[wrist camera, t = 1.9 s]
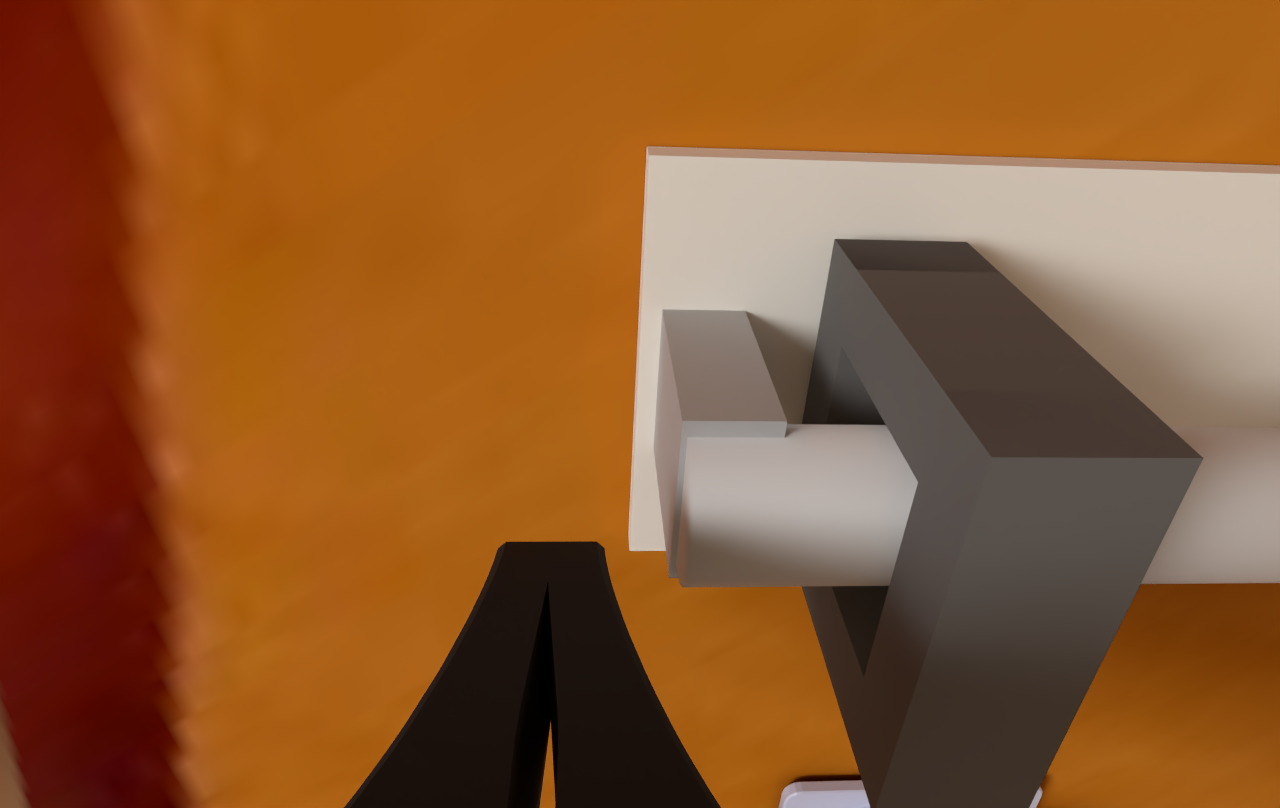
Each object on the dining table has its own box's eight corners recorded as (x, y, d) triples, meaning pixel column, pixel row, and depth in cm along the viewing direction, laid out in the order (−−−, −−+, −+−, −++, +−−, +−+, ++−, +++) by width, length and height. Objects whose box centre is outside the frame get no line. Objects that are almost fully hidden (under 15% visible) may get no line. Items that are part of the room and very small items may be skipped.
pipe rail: (1761, 180, 16) (2298, 310, 11) (1491, 531, 21) (1780, 734, 16) (646, 146, 15) (677, 279, 10) (628, 533, 19) (643, 760, 14)
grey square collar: (966, 241, 15) (1203, 458, 9) (890, 527, 18) (1027, 811, 12) (834, 238, 14) (992, 456, 9) (783, 527, 18) (873, 815, 12)
